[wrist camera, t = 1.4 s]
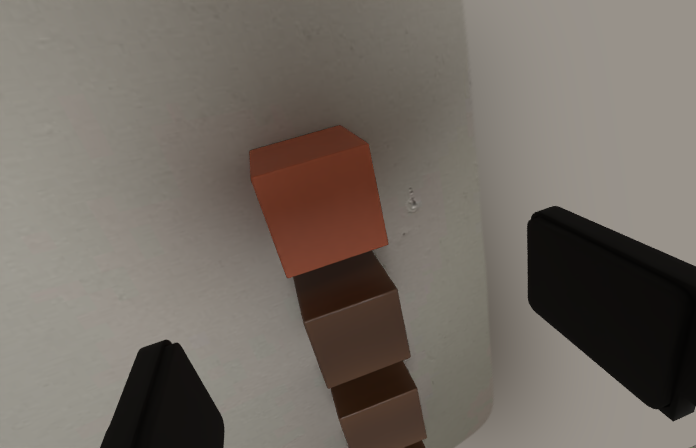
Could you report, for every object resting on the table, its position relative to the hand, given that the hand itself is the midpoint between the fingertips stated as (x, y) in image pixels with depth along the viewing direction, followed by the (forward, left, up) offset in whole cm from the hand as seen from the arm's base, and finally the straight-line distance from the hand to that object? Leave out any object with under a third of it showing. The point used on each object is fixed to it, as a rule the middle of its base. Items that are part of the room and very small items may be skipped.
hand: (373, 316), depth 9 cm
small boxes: (+12, +6, -11) cm, 17 cm away
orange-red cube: (0, 0, -11) cm, 11 cm away
